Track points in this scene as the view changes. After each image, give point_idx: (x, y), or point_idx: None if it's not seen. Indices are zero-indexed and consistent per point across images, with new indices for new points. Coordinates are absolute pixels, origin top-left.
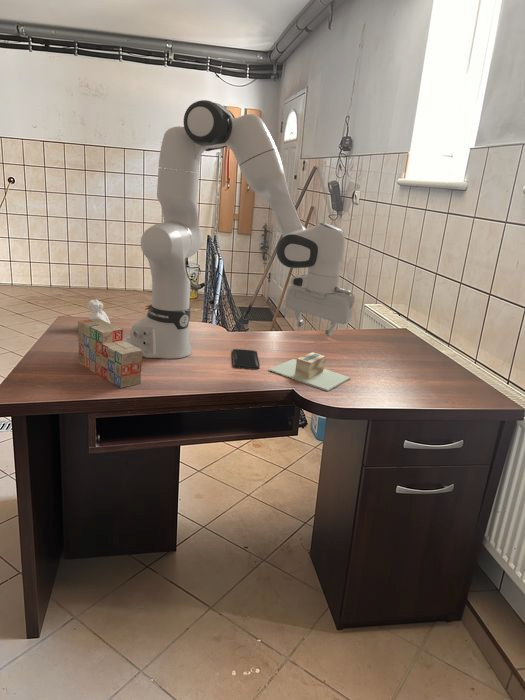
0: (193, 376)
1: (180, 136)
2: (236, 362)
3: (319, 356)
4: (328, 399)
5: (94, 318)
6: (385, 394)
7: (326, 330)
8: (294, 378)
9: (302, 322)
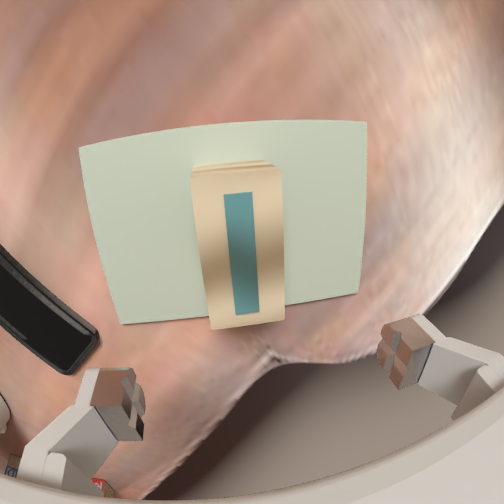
0: None
1: None
2: (46, 355)
3: (261, 205)
4: (373, 324)
5: None
6: (466, 162)
7: (400, 382)
8: None
9: (138, 426)
